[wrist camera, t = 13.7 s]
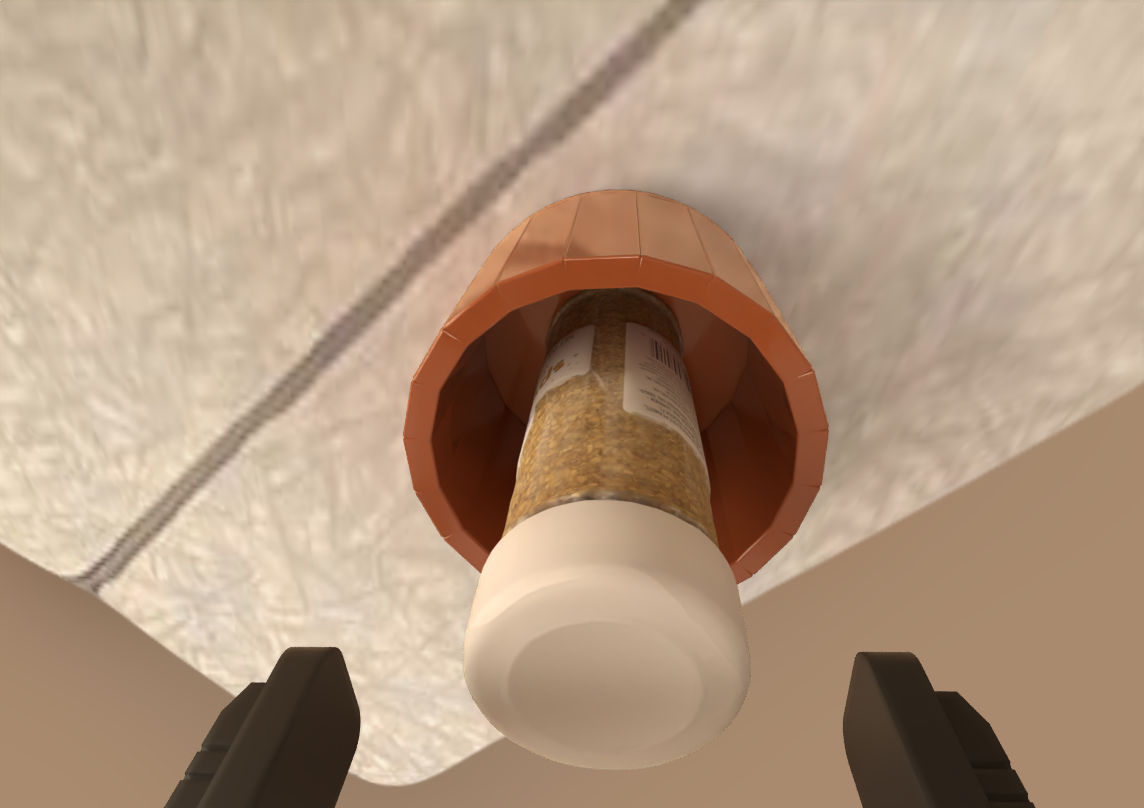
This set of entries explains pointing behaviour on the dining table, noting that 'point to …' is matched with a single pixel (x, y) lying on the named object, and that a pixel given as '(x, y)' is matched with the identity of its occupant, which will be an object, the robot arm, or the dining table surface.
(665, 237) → the cup
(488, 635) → the sprinkles bottle
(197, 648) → the dining table surface
